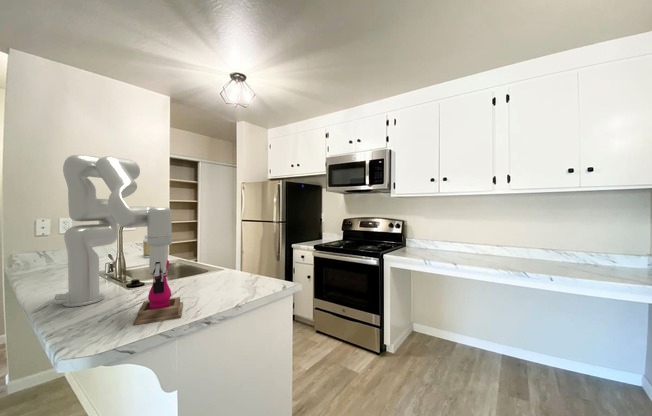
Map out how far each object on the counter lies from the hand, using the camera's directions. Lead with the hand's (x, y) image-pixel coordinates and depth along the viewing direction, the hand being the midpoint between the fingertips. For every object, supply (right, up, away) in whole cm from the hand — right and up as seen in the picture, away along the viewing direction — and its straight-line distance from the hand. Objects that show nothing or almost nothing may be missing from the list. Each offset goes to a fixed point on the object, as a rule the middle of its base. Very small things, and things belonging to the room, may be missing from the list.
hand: (159, 290), depth 98 cm
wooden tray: (0, -9, 0) cm, 9 cm away
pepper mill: (0, -7, 0) cm, 7 cm away
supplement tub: (-71, -7, +107) cm, 129 cm away
